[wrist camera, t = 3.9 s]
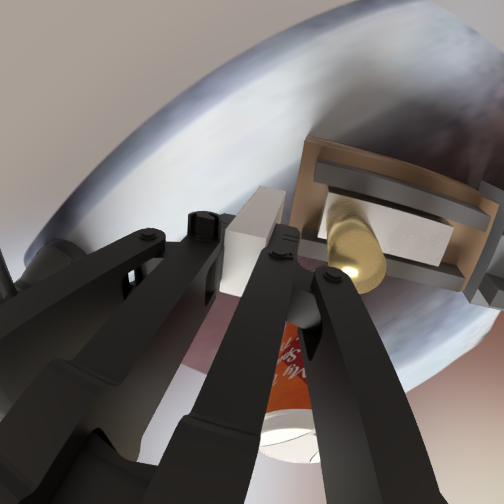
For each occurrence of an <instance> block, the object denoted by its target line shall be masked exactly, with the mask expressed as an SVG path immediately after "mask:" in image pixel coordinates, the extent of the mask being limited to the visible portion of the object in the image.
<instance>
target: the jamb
mask: <svg viewBox="0 0 504 504" xmlns="http://www.w3.org/2000/svg"><path fill="white" fill-rule="evenodd" d="M478 191H479V192H481V193H482V194H484V195H485V196H487V197H489V198H490V199H492V200H493V201H495V202H496V203H498V204H499V207H498V210H497V213H496V216H495V219H494V222H493V225H492V227H491V230H490V233H489V235H488V238H487V240H486V243H485V245H484V248H483V250H482V253H481V255H480V257H479V259H478V262H477V264H476V266H475V268H474V271H473V273H472V275H471V277H470V279H469V281H468V283H467V285H466V287H465V289H464V291H462V292H463V293H464V295H465V296H466V298H467V300H468V301H469V303H470V304H474V305H479V306H483V307H488V308H493V309H497V310H502V311H504V191H503V190H501V189H499V188H497V187H495V186H493V185H491V184H489V183H487V182H485V181H483V180H481V182H480V186H479V189H478Z"/></svg>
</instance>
